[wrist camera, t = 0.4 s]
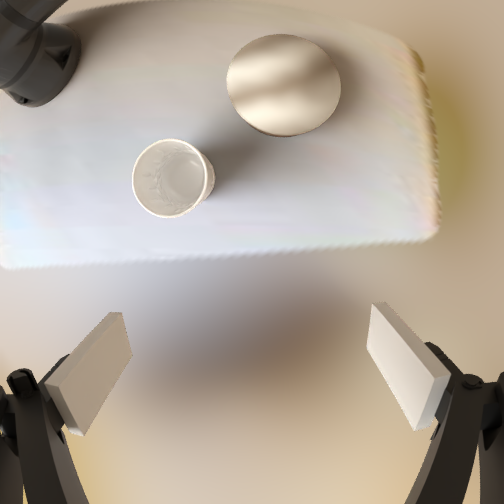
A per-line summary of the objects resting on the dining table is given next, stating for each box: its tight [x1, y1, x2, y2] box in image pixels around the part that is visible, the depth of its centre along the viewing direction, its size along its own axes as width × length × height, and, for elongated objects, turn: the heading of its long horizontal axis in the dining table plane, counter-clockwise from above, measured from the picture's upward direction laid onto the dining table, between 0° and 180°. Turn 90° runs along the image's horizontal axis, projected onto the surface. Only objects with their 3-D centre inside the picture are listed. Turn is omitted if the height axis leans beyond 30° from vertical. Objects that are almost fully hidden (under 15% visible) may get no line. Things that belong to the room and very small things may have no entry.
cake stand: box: [227, 34, 341, 137], centre depth 32 cm, size 13×13×6 cm
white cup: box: [132, 139, 216, 218], centre depth 32 cm, size 8×8×10 cm
